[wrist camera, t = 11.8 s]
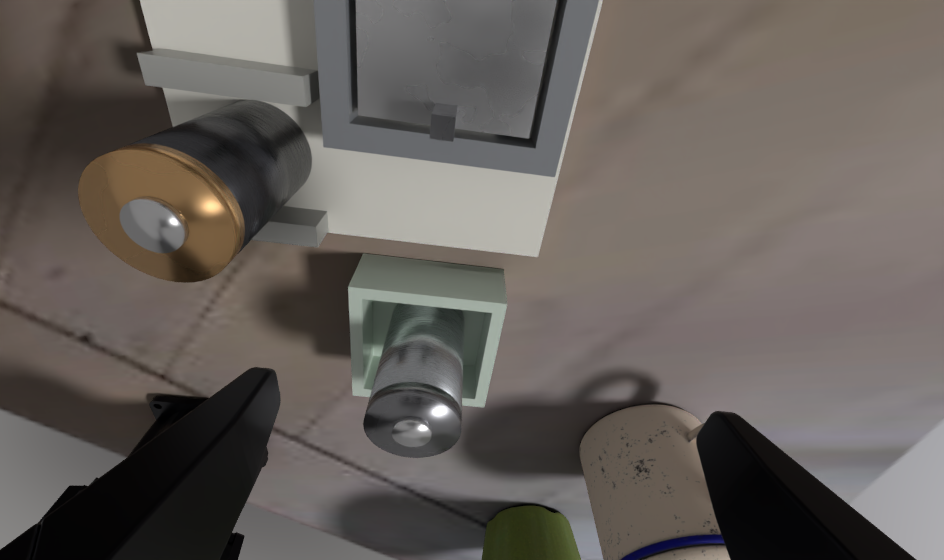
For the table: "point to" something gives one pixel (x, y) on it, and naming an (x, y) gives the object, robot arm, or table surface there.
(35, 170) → the table surface
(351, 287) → the cup
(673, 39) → the table surface
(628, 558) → the teacup with lid
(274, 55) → the white square base board
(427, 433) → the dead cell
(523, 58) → the cradle
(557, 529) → the plant pot
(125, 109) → the table surface
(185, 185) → the cell
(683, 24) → the table surface
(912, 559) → the robot arm
